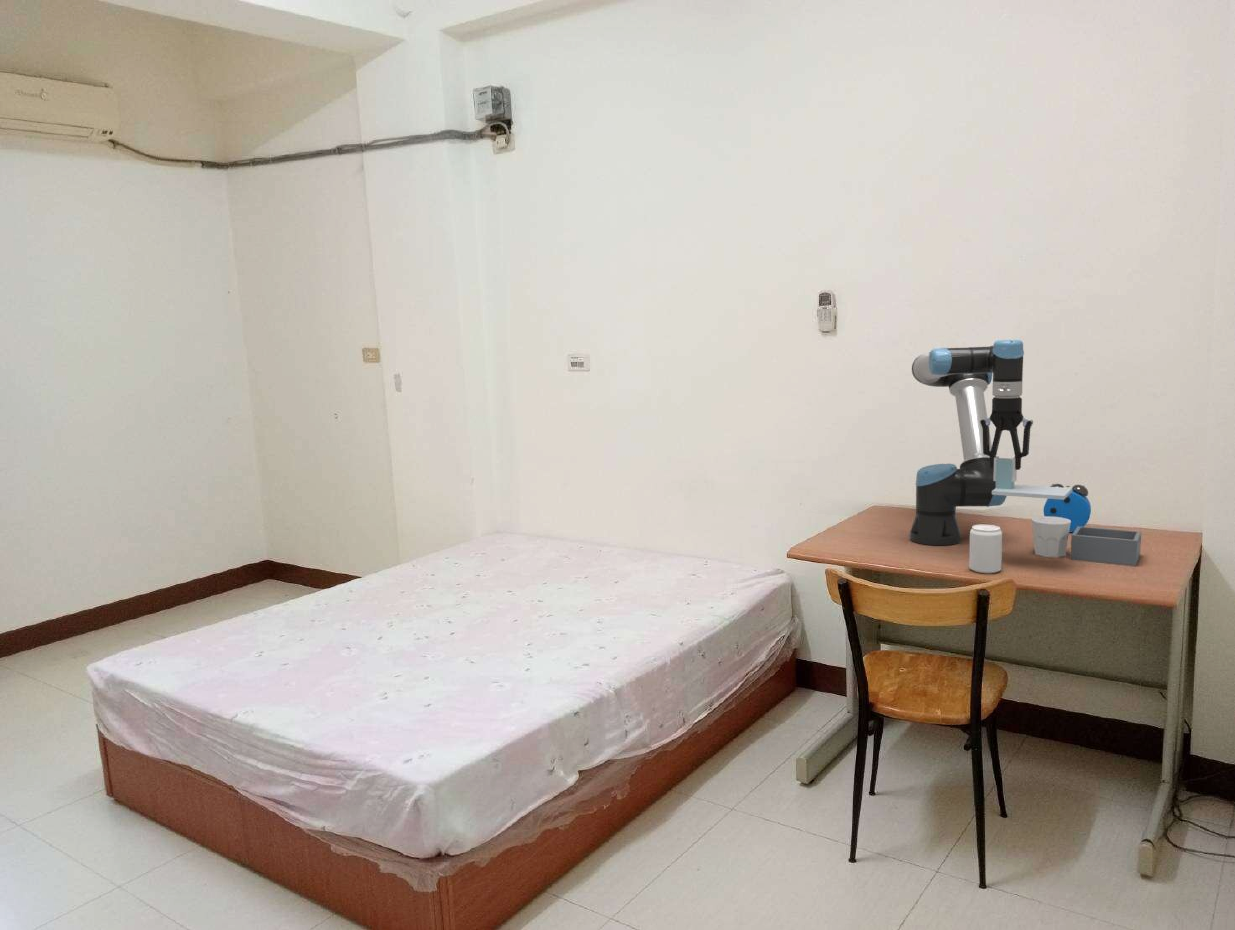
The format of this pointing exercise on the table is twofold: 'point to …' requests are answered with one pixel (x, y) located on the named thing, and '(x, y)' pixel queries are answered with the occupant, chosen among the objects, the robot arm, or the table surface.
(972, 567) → the beverage can
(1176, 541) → the table surface
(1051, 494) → the pale blue stand
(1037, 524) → the cup
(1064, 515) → the alarm clock
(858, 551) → the table surface
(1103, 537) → the tub
